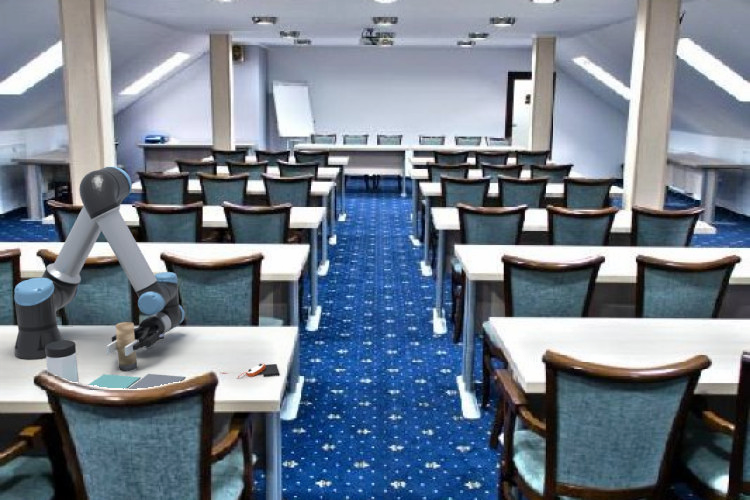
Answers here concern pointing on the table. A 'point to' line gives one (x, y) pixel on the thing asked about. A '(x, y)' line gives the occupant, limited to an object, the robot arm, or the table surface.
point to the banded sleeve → (123, 339)
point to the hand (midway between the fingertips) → (117, 350)
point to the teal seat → (114, 381)
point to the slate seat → (156, 380)
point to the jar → (62, 359)
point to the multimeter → (262, 370)
